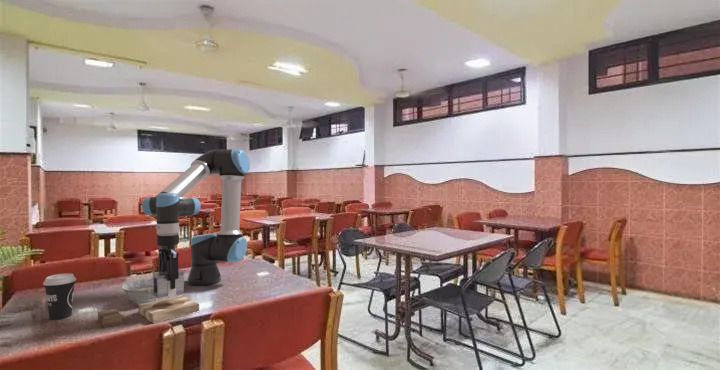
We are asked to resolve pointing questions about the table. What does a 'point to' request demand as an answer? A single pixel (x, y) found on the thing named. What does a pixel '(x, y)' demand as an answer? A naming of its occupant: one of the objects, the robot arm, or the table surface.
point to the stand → (109, 318)
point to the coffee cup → (60, 295)
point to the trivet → (168, 308)
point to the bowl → (140, 291)
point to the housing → (166, 284)
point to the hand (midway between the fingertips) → (168, 295)
